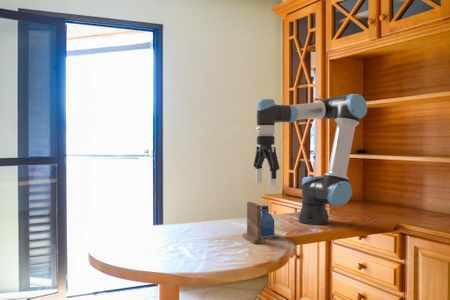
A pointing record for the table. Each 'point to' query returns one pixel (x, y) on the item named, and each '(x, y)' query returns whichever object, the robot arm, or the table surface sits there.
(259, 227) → the walnut screen
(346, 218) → the table surface
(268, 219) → the perfume bottle
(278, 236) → the slate tile
